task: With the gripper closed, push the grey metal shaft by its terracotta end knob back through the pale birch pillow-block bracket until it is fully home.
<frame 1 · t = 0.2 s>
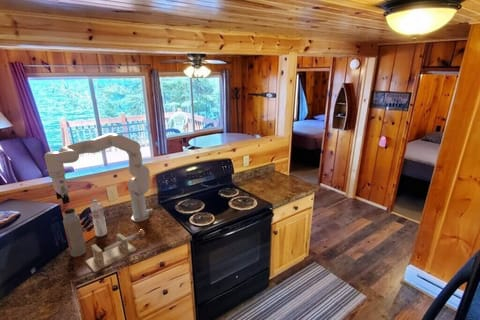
hand: (63, 200, 149), 31 cm above the countertop, tool pointing down, fingers open, 9 cm apart
water bottle: (101, 234, 170), on the countertop
bracket: (112, 256, 149), on the countertop
shaft: (125, 240, 153), point 6 cm above the countertop, slide at -8.0 cm
thermos bottle: (78, 252, 152), on the countertop
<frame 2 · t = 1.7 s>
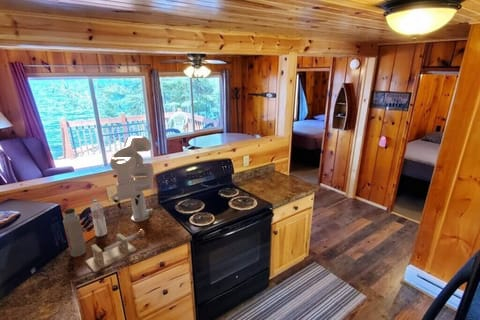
hand: (128, 206, 159), 23 cm above the countertop, tool pointing down, fingers open, 9 cm apart
nothing on the countertop moved.
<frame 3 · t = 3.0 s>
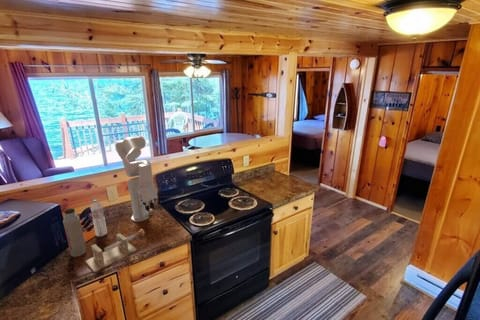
hand: (149, 209, 163), 19 cm above the countertop, tool pointing down, fingers closed
nothing on the countertop moved.
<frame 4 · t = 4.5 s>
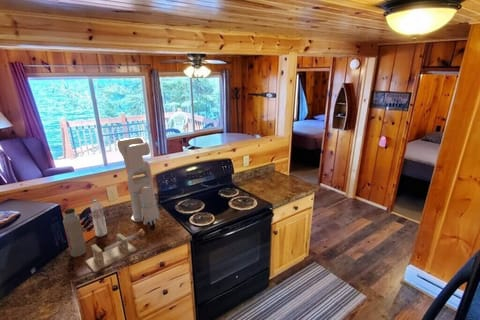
hand: (152, 229, 167), 5 cm above the countertop, tool pointing down, fingers closed
nothing on the countertop moved.
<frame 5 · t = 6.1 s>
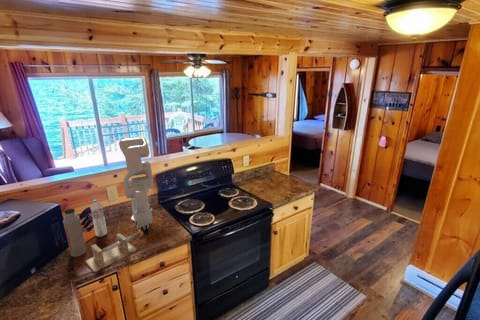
hand: (146, 233, 164), 4 cm above the countertop, tool pointing down, fingers closed
shaft: (123, 241, 153), point 6 cm above the countertop, slide at -6.9 cm, touching gripper
everything else where it was.
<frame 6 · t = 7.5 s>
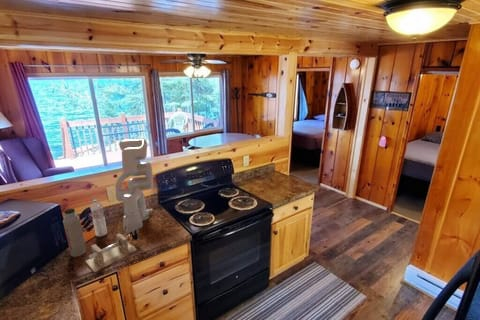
hand: (135, 239, 159), 4 cm above the countertop, tool pointing down, fingers closed
shaft: (111, 247, 147), point 6 cm above the countertop, slide at 0.3 cm, touching gripper
everything else where it was.
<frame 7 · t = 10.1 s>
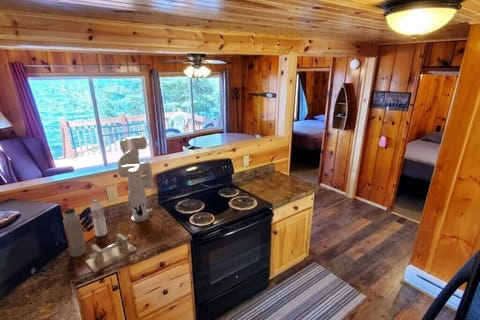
hand: (139, 214, 159), 18 cm above the countertop, tool pointing down, fingers closed
shaft: (111, 246, 148), point 6 cm above the countertop, slide at 0.0 cm
everything else where it was.
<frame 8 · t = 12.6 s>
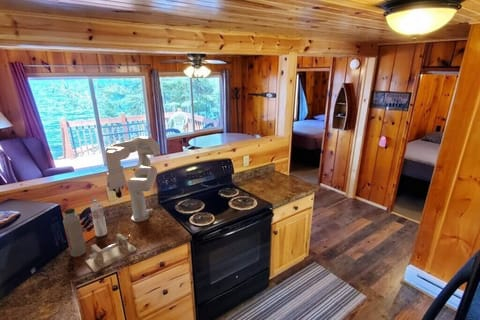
hand: (119, 197, 162), 27 cm above the countertop, tool pointing down, fingers closed
nothing on the countertop moved.
at the end: shaft slide at 0.0 cm; thermos bottle moved 0.2 cm from its start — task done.
